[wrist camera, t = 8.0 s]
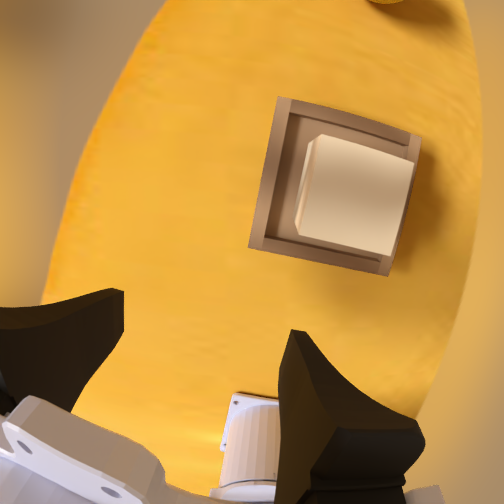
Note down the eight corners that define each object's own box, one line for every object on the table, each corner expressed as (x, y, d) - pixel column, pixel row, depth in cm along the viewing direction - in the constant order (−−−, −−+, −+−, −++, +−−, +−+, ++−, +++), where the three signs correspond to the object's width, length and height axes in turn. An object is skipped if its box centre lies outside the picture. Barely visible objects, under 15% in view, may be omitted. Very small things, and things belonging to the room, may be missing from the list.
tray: (373, 261, 21) (388, 276, 18) (251, 235, 21) (247, 247, 18) (401, 140, 18) (421, 137, 15) (277, 107, 18) (277, 96, 15)
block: (362, 233, 18) (390, 256, 13) (292, 216, 18) (298, 234, 13) (379, 162, 17) (414, 163, 12) (308, 143, 17) (321, 134, 12)
